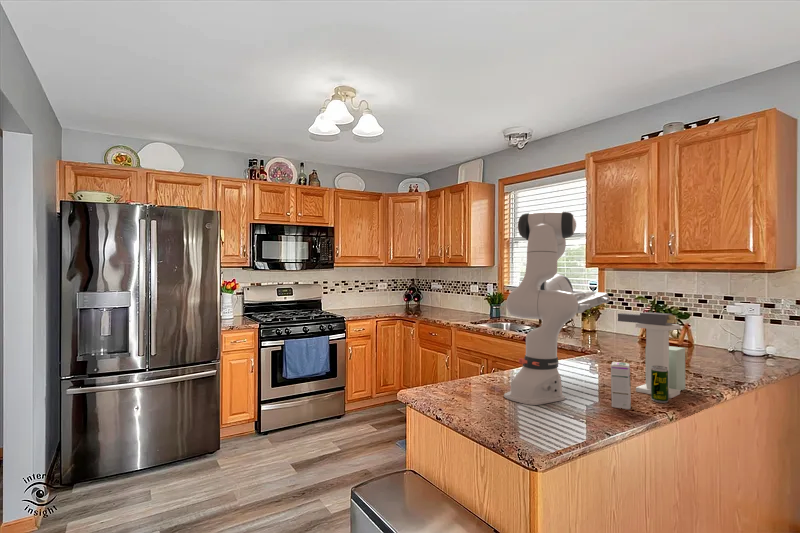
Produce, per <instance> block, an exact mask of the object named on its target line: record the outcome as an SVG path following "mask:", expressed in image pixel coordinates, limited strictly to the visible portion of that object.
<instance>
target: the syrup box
mask: <svg viewBox="0 0 800 533" xmlns="http://www.w3.org/2000/svg"><path fill="white" fill-rule="evenodd" d="M631 384H632V383H631V364H630V363H628V362H622V361H612V362H611V364H610V395H611V400H610V401H611V407H612V408H616V409H621V408H622V409H623V410H631V408H632V407H631V405H632V398H631V396H632V395H631V392H632V390H631ZM622 409H621V410H622Z"/></svg>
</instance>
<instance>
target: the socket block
mask: <svg viewBox="0 0 800 533" xmlns="http://www.w3.org/2000/svg"><path fill="white" fill-rule="evenodd" d="M645 355H646V346H645ZM669 388H671V389H677V390H680V392H682V391H684V390H686V348H685V347H681V346H679V347H678V346H670V345H669ZM681 390H682V391H681Z"/></svg>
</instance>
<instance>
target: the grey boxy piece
mask: <svg viewBox="0 0 800 533" xmlns="http://www.w3.org/2000/svg"><path fill="white" fill-rule="evenodd" d="M617 322H622V323H623V322H624V323H635V324H636V323H641V324H652V325H663V326H667V325H672V324H674V323H675V324H676V323H677V322H678V319H677V318H676V315H673V314H672V313H663V312H650V311H649V312H647V311H646V312H645V311H644V312H639V313H625V312H624V313H622V312H620V313H617Z"/></svg>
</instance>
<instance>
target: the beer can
mask: <svg viewBox="0 0 800 533" xmlns="http://www.w3.org/2000/svg"><path fill="white" fill-rule="evenodd" d="M650 398H651V400H653V402H655V403H660V404H667V403H669V399H670V398H669V379H668V368H667V367H664V366H652V368H651V394H650Z"/></svg>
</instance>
